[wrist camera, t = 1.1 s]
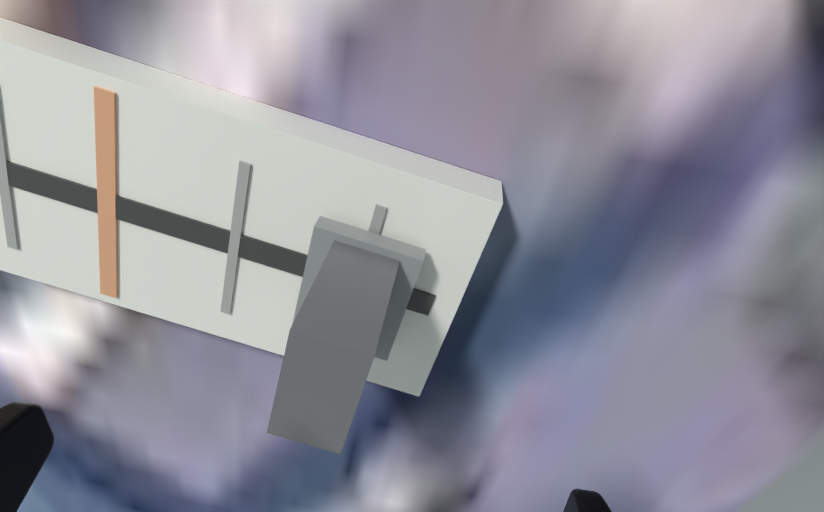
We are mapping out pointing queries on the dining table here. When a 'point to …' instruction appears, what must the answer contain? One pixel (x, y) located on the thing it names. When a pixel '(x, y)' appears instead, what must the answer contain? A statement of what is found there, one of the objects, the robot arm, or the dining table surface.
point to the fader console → (213, 199)
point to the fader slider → (340, 329)
